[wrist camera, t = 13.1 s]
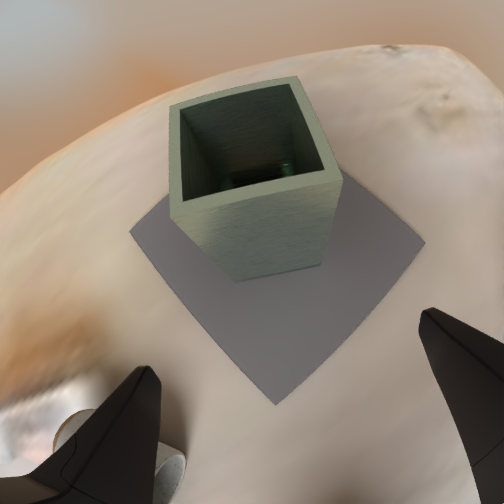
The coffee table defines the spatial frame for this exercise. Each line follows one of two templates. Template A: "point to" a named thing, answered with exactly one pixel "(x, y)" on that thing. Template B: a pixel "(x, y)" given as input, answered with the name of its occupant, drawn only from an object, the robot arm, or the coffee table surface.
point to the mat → (287, 289)
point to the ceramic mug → (167, 461)
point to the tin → (253, 178)
